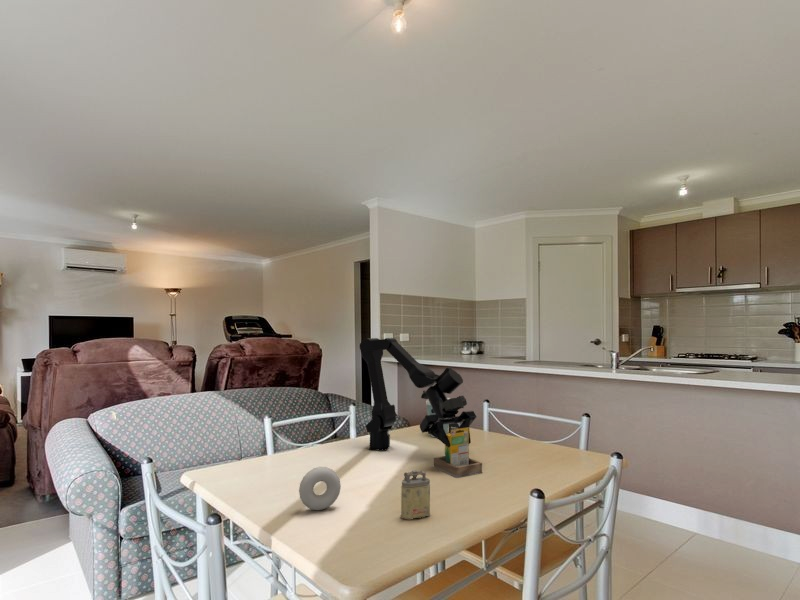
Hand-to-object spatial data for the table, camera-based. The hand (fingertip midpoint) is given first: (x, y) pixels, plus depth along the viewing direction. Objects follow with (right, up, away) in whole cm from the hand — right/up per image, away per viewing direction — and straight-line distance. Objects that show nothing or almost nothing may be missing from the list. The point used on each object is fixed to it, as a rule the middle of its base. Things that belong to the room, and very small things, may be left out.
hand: (459, 444), depth 140 cm
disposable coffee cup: (-3, -10, +43) cm, 45 cm away
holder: (-1, -8, +1) cm, 8 cm away
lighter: (-14, -6, -34) cm, 37 cm away
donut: (-37, -6, -31) cm, 49 cm away
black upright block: (+2, -9, +20) cm, 22 cm away
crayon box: (-1, -7, +1) cm, 7 cm away
